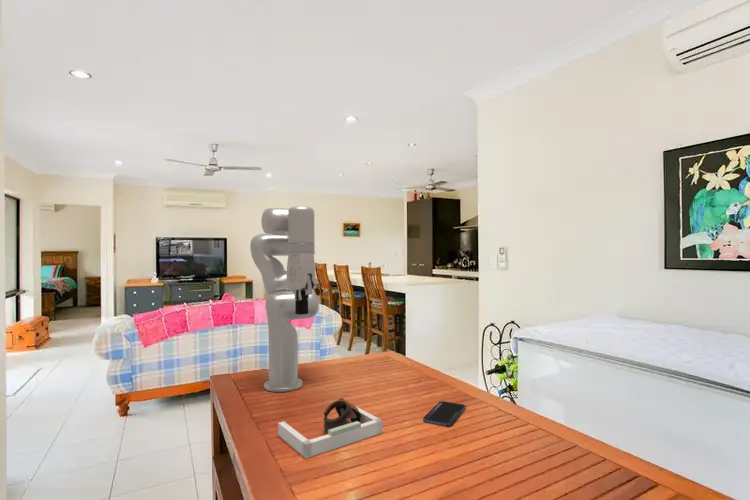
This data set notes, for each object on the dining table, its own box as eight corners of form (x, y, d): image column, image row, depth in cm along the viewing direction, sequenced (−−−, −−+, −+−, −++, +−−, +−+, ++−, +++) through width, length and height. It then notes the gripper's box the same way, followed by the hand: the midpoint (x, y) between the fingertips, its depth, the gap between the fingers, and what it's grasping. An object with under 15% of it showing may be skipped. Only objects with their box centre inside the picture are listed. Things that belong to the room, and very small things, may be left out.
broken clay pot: (370, 436, 100) (356, 411, 97) (335, 455, 99) (320, 431, 96) (360, 406, 111) (347, 383, 109) (329, 423, 110) (315, 400, 108)
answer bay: (278, 435, 100) (278, 418, 100) (350, 414, 112) (350, 399, 112) (305, 458, 88) (305, 440, 88) (382, 432, 101) (382, 416, 101)
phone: (421, 419, 107) (440, 400, 120) (421, 423, 107) (440, 404, 120) (451, 424, 103) (467, 405, 116) (451, 429, 103) (467, 409, 116)
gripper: (278, 250, 121) (278, 312, 121) (301, 249, 109) (301, 318, 109) (301, 250, 126) (301, 310, 125) (325, 249, 114) (326, 315, 113)
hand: (301, 313), depth 117 cm, fingers closed
